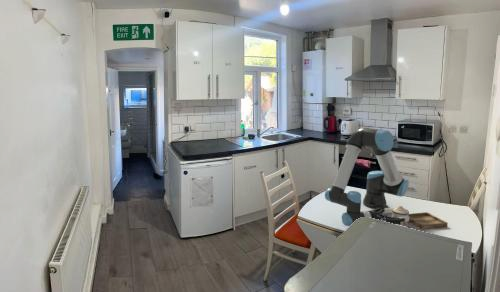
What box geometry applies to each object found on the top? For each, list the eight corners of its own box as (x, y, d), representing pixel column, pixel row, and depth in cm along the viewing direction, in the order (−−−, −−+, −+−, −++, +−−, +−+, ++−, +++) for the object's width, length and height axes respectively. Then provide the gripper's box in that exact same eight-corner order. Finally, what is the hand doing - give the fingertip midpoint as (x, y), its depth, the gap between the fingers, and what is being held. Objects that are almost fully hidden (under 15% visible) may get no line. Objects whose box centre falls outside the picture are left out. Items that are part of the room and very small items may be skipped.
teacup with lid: (406, 229, 201) (408, 210, 198) (389, 226, 205) (391, 207, 203) (409, 222, 211) (411, 204, 208) (393, 219, 215) (395, 201, 213)
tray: (402, 218, 217) (403, 214, 216) (426, 215, 220) (427, 212, 220) (421, 229, 201) (422, 225, 200) (447, 226, 204) (447, 222, 204)
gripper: (357, 215, 215) (387, 212, 219) (380, 232, 191) (414, 229, 195) (357, 203, 213) (388, 201, 218) (381, 219, 189) (415, 216, 194)
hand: (401, 214), depth 206 cm, fingers open, 13 cm apart
